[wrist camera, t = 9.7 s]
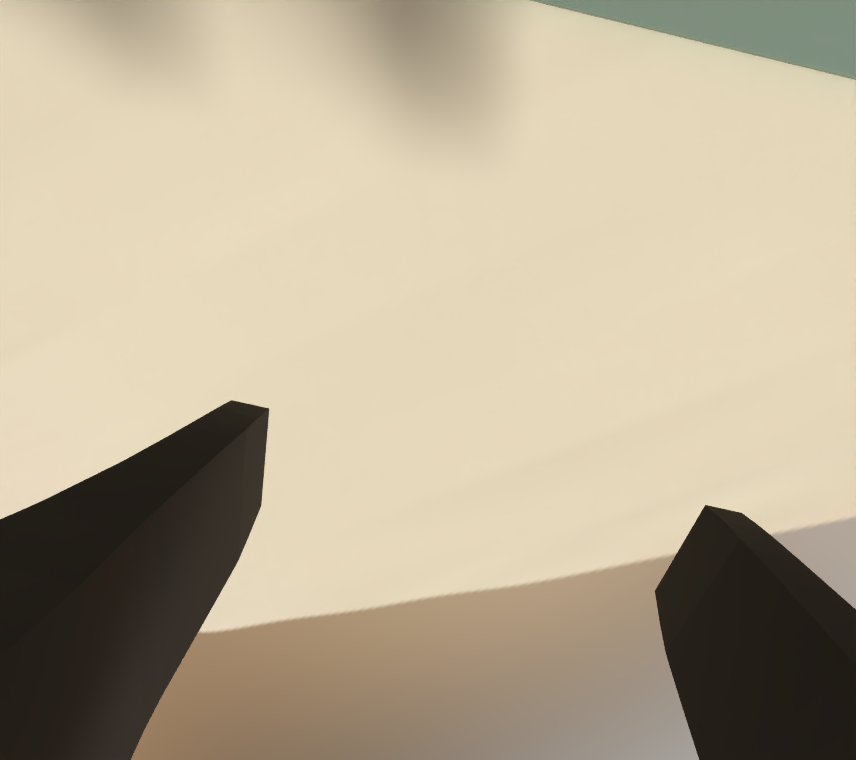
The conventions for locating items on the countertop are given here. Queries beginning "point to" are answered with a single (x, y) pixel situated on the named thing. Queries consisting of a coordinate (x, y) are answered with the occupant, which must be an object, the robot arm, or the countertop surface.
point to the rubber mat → (746, 26)
